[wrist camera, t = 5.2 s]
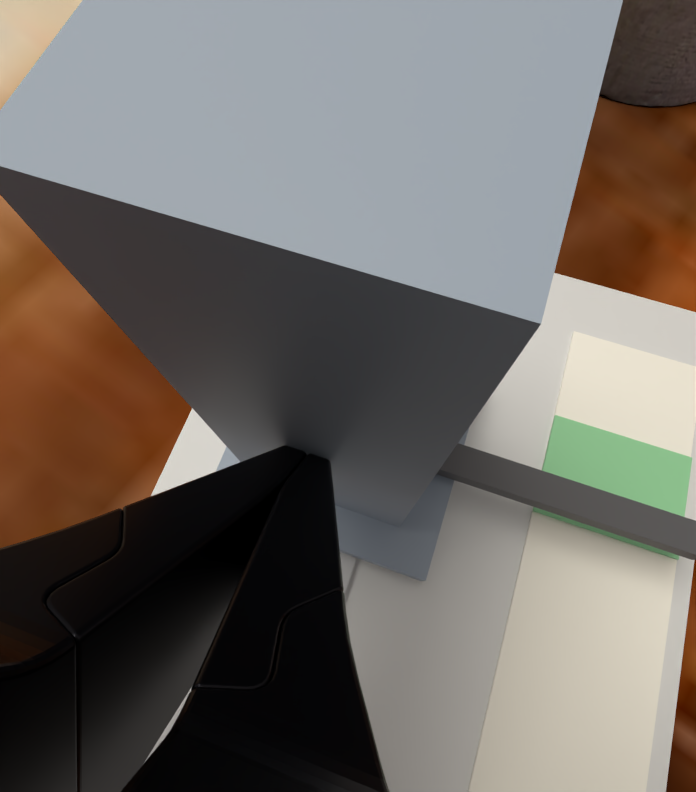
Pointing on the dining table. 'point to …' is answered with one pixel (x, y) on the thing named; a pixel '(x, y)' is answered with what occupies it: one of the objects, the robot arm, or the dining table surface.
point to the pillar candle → (653, 54)
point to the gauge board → (537, 572)
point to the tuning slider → (328, 227)
